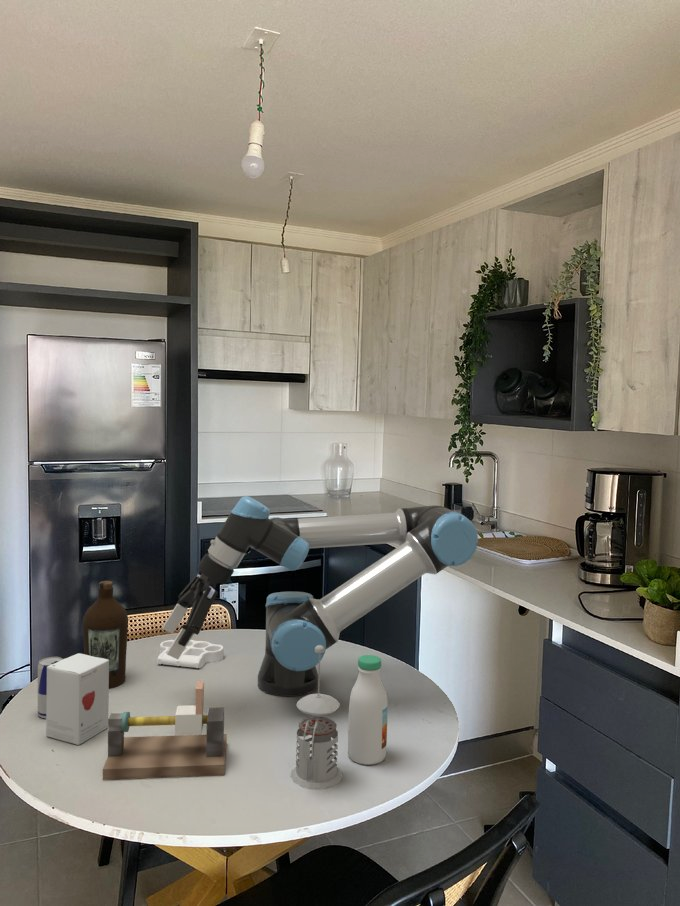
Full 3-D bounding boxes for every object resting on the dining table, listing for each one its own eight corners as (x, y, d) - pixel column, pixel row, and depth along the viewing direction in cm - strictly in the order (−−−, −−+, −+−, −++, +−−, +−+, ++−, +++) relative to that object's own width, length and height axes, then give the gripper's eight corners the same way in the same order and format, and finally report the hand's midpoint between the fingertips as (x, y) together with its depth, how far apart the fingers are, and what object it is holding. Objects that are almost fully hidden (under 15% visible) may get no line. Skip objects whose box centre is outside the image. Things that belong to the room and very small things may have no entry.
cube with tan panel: (203, 724, 135) (203, 680, 134) (201, 734, 131) (202, 688, 130) (177, 725, 134) (177, 681, 133) (175, 735, 130) (175, 689, 129)
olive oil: (85, 674, 172) (85, 577, 171) (129, 672, 175) (130, 576, 173) (79, 692, 162) (79, 588, 160) (126, 689, 164) (126, 587, 163)
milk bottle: (374, 770, 131) (377, 668, 129) (340, 758, 135) (343, 659, 134) (392, 753, 137) (396, 656, 136) (359, 742, 141) (362, 648, 140)
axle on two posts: (226, 743, 140) (227, 696, 139) (223, 774, 128) (224, 724, 127) (115, 747, 137) (116, 699, 136) (102, 779, 125) (102, 728, 124)
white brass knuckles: (145, 666, 180) (170, 647, 194) (210, 673, 177) (229, 653, 191) (146, 653, 180) (170, 635, 194) (210, 660, 176) (230, 641, 191)
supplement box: (78, 746, 137) (78, 673, 136) (44, 737, 140) (44, 666, 139) (110, 727, 145) (110, 658, 144) (77, 718, 148) (77, 651, 147)
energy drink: (54, 720, 147) (54, 666, 146) (32, 717, 148) (32, 664, 148) (69, 710, 153) (69, 657, 152) (47, 707, 154) (47, 655, 153)
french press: (347, 765, 132) (351, 639, 131) (333, 798, 121) (337, 661, 119) (298, 758, 135) (301, 634, 133) (280, 789, 123) (283, 655, 122)
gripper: (199, 538, 162) (151, 614, 161) (214, 571, 138) (158, 661, 138) (226, 552, 164) (179, 627, 164) (245, 587, 141) (190, 675, 140)
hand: (169, 643), depth 151 cm, fingers open, 13 cm apart
